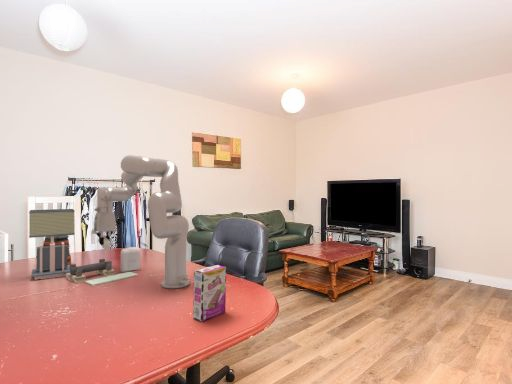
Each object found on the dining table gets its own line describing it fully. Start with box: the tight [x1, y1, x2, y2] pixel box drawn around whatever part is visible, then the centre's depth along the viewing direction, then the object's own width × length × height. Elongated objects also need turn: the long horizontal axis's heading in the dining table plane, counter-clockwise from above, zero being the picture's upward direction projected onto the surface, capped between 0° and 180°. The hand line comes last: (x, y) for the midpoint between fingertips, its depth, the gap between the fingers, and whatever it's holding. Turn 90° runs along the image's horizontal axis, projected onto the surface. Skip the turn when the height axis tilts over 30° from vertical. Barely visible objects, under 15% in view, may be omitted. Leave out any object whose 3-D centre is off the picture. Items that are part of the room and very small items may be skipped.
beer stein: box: [42, 235, 72, 266], centre depth 179 cm, size 19×15×20 cm
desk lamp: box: [28, 208, 75, 281], centre depth 156 cm, size 18×14×33 cm
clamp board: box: [65, 258, 116, 284], centre depth 153 cm, size 12×18×7 cm, turn 141°
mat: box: [84, 271, 139, 287], centre depth 150 cm, size 8×22×1 cm, turn 141°
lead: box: [69, 261, 106, 275], centre depth 154 cm, size 17×4×4 cm, turn 141°
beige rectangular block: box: [97, 233, 112, 251], centre depth 168 cm, size 9×3×4 cm, turn 51°
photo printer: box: [119, 246, 141, 273], centre depth 166 cm, size 10×4×12 cm, turn 134°
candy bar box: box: [192, 264, 227, 323], centre depth 107 cm, size 11×5×16 cm, turn 141°
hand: (104, 243), depth 168 cm, fingers closed on beige rectangular block, 2 cm apart
